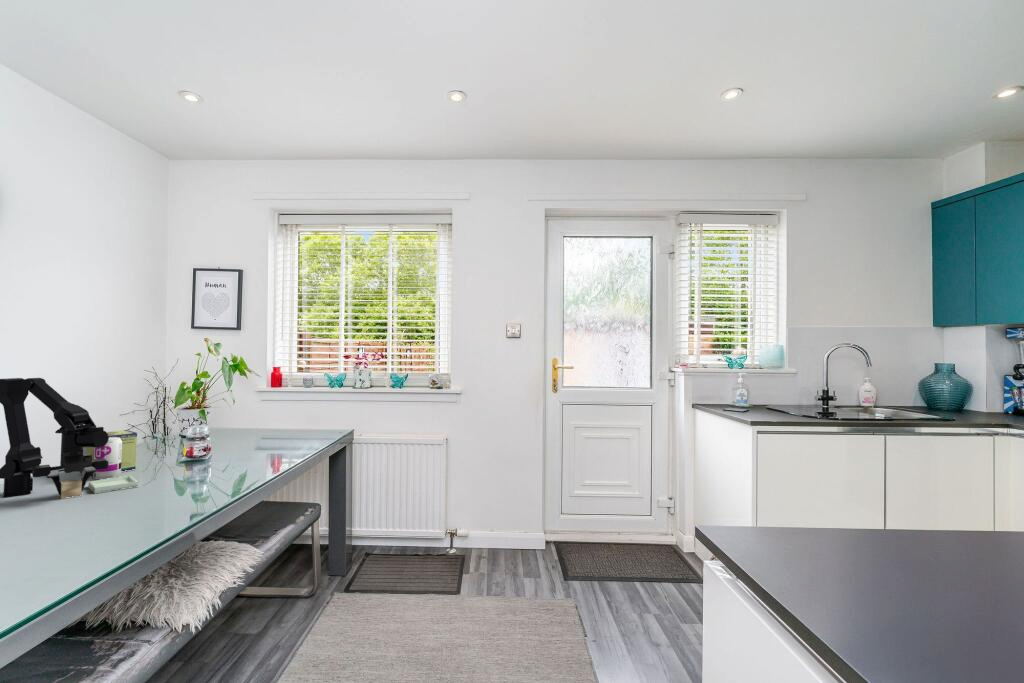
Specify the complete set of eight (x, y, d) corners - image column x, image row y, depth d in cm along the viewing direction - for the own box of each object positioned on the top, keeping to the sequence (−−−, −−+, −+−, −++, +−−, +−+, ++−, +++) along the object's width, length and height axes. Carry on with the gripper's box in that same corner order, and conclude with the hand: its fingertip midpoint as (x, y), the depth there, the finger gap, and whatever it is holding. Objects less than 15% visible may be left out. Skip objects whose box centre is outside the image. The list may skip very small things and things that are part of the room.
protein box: (136, 470, 203) (138, 432, 203) (88, 477, 189) (90, 437, 190) (125, 466, 208) (127, 429, 208) (78, 473, 195) (80, 434, 195)
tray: (94, 493, 169) (94, 488, 169) (88, 486, 177) (88, 481, 177) (137, 487, 178) (137, 481, 178) (130, 481, 186) (130, 475, 186)
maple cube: (61, 499, 162) (61, 484, 162) (59, 496, 165) (60, 481, 165) (81, 496, 166) (81, 481, 166) (79, 493, 169) (79, 478, 169)
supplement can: (108, 480, 186) (110, 440, 186) (87, 479, 186) (89, 440, 186) (126, 475, 194) (127, 437, 194) (105, 474, 194) (107, 436, 194)
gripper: (36, 454, 154) (34, 504, 153) (112, 446, 167) (110, 492, 167) (33, 448, 161) (30, 496, 161) (106, 442, 175) (104, 486, 175)
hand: (70, 493), depth 166 cm, fingers closed on maple cube, 5 cm apart
